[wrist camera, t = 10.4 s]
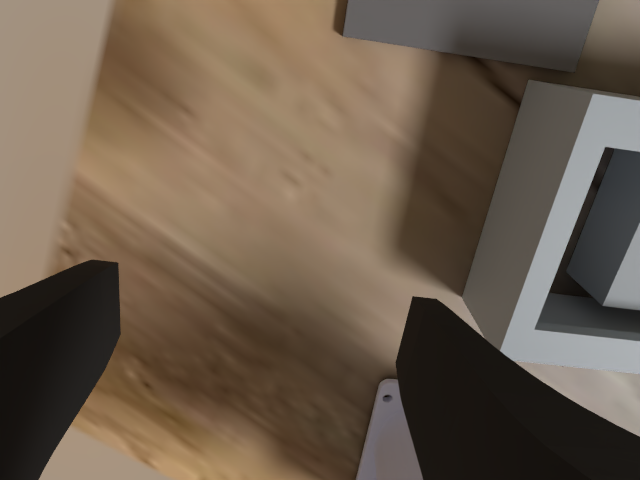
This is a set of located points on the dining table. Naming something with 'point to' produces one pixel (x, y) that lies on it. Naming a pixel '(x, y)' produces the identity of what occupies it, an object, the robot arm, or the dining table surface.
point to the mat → (479, 28)
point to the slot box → (563, 234)
